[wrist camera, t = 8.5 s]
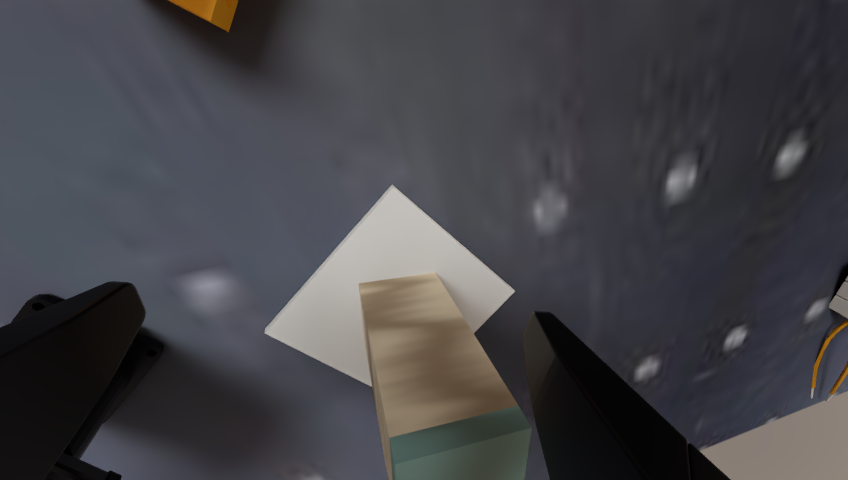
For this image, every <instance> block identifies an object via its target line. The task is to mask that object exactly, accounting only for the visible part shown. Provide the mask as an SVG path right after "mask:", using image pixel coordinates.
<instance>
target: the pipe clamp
mask: <svg viewBox="0 0 848 480" xmlns="http://www.w3.org/2000/svg"><path fill="white" fill-rule="evenodd" d="M168 1H170V2H172V3H174V4H176V5H177V6H179V7H181V8H183V9H185V10H187V11H189V12H191V13H193V14H195V15H197V16H199V17H200V18H202V19H204V20H206V21H208V22H210V23H212V24H214V25H216V26H218V27H220V28H222V29H224V30H225V31H227V32H229V30H230V26H231V23H232V20H233V17H234V13H235V10H236V7H237V4H238V0H168Z"/></svg>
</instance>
